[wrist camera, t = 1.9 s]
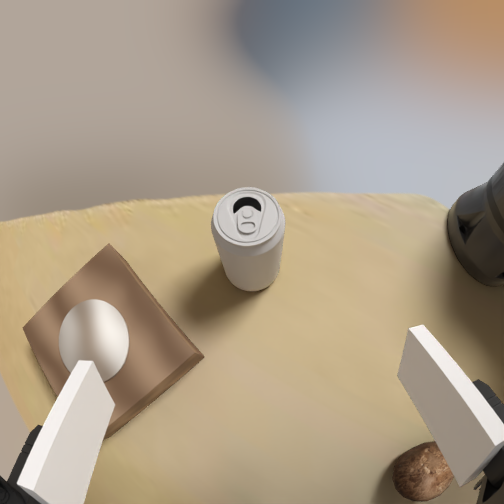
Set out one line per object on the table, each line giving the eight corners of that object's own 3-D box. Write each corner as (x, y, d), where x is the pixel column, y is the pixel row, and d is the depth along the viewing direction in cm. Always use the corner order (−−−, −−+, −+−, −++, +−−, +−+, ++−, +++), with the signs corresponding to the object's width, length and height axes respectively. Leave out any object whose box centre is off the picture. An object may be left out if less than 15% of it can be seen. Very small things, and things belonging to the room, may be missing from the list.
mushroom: (436, 511, 19) (456, 499, 16) (376, 502, 23) (388, 490, 20) (451, 457, 25) (469, 436, 22) (396, 449, 29) (408, 428, 26)
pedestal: (125, 260, 37) (107, 241, 32) (204, 356, 32) (194, 352, 27) (45, 335, 33) (20, 327, 28) (109, 437, 28) (85, 443, 23)
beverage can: (276, 240, 37) (281, 180, 26) (282, 291, 34) (290, 246, 24) (224, 244, 37) (209, 185, 26) (226, 295, 35) (208, 252, 24)
